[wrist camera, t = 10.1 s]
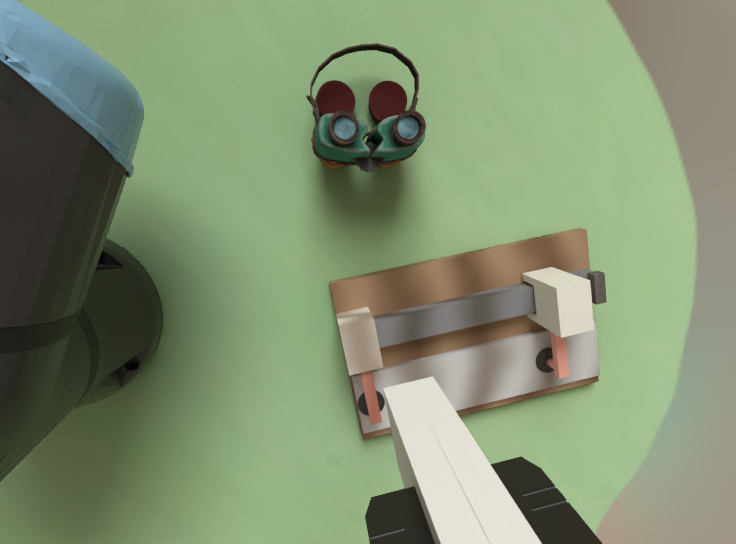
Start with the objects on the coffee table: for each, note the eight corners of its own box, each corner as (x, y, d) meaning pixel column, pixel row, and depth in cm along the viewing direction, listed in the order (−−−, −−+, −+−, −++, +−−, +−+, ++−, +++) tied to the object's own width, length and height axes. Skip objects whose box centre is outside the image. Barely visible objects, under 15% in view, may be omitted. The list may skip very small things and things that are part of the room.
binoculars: (441, 6, 30) (443, 162, 31) (406, 64, 40) (408, 179, 41) (303, 2, 28) (310, 164, 29) (304, 63, 39) (309, 181, 40)
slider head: (532, 367, 45) (566, 395, 39) (522, 273, 43) (556, 288, 37) (560, 360, 45) (598, 387, 39) (551, 266, 43) (590, 280, 37)
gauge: (361, 433, 46) (368, 464, 41) (329, 281, 42) (332, 295, 37) (591, 376, 48) (625, 399, 43) (578, 228, 44) (614, 234, 39)
